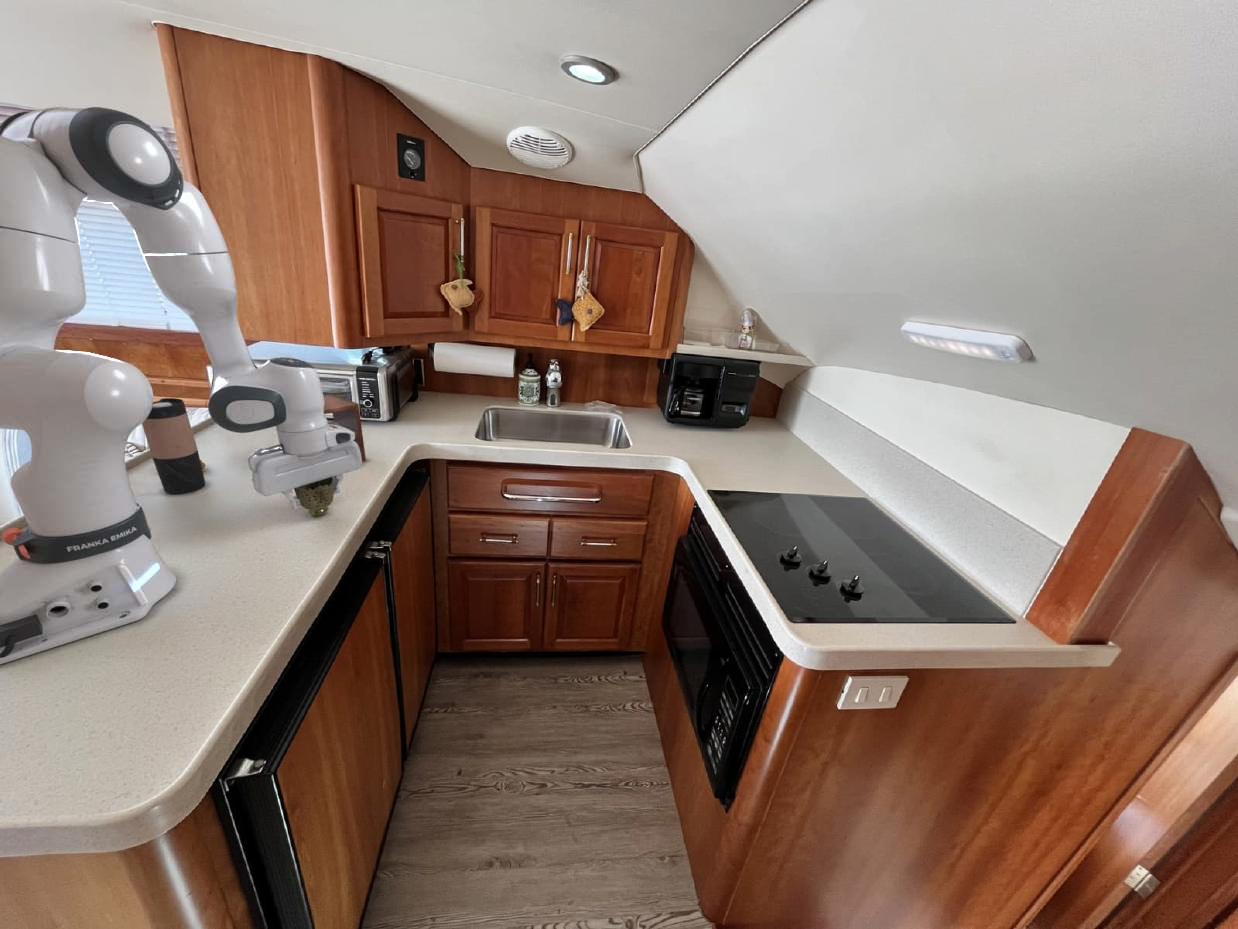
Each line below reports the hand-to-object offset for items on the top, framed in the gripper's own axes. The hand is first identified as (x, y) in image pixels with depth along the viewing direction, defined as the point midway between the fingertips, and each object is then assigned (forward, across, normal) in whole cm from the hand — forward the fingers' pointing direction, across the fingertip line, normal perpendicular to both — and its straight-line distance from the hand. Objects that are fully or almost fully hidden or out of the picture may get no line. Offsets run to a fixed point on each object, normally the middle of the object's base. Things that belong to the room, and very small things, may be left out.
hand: (316, 499), depth 105 cm
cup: (+3, 0, 0) cm, 3 cm away
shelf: (+3, +15, +25) cm, 29 cm away
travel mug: (+4, -13, +32) cm, 34 cm away
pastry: (+4, -10, +43) cm, 44 cm away
